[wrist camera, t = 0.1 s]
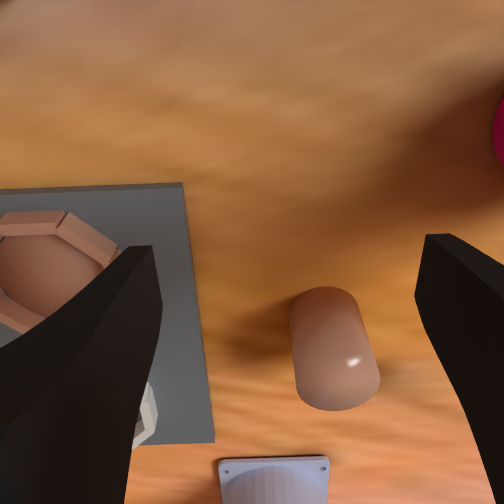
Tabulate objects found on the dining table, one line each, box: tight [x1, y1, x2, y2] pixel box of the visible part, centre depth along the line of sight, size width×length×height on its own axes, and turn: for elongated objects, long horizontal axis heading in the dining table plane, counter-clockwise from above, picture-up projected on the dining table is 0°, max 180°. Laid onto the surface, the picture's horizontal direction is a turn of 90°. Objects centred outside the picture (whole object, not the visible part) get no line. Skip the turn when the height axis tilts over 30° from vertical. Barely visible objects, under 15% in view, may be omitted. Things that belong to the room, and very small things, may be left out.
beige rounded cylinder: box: [288, 287, 380, 411], centre depth 24 cm, size 4×4×5 cm
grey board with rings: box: [0, 182, 215, 450], centre depth 26 cm, size 19×14×2 cm
